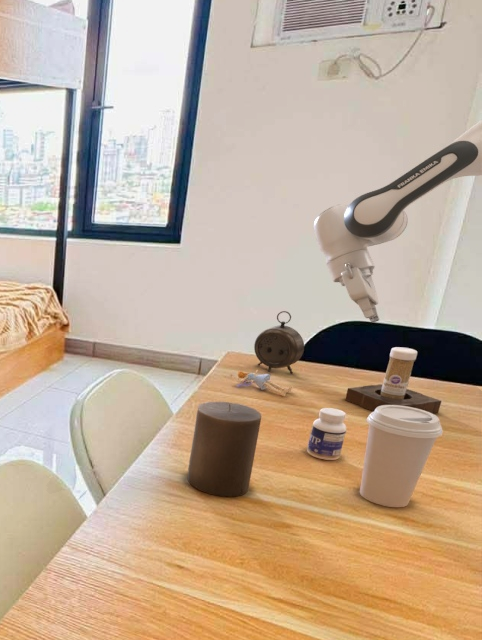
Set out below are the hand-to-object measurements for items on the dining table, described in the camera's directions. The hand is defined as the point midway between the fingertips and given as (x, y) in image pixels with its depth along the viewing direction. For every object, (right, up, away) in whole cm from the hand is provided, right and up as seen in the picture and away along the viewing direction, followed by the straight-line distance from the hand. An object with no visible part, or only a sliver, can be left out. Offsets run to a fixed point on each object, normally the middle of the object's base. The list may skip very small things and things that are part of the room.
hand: (372, 319), depth 153 cm
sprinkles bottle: (-5, -21, -11) cm, 25 cm away
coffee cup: (-36, -36, -49) cm, 71 cm away
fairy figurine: (-27, -17, +1) cm, 32 cm away
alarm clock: (-16, -12, +14) cm, 25 cm away
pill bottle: (-35, -30, -34) cm, 58 cm away
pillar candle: (-61, -34, -44) cm, 82 cm away
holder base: (-5, -21, -12) cm, 25 cm away
